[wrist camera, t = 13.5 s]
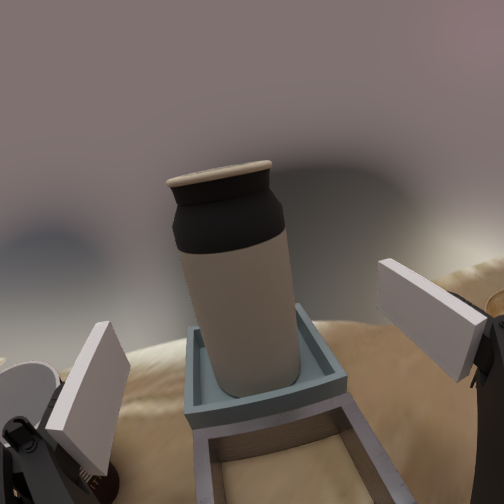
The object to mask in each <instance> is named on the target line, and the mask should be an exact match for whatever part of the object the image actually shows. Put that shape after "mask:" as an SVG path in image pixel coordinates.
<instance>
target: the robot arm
mask: <svg viewBox="0 0 504 504" xmlns="http://www.w3.org/2000/svg"><path fill="white" fill-rule="evenodd" d="M377 309H378V310H379V311H380V312H381V313H382V314H383V315H384V316H385V317H387V318H388V319H389V320H390V321H391V322H392V323H393V324H394V325H395V326H397V327H398V328H399V329H400V330H401V331H402V332H403V333H404V334H405V335H406V336H407V337H409V338H410V339H411V340H412V341H413V342H414V343H415V344H416V345H417V346H418V347H419V348H420V349H421V350H423V351H424V352H425V353H426V354H427V355H428V356H429V357H430V358H431V359H432V360H433V361H434V362H435V363H436V364H437V365H438V366H439V367H440V368H441V369H443V370H444V371H445V372H446V373H447V374H448V375H449V376H450V377H451V378H452V379H453V380H454V381H455V382H456V383H458V382H459V381H461V380H462V379H463V378H465V377H466V376H468V375H469V373H470V370H471V368H472V365H473V363H474V364H475V365H476V366H477V367H478V368H477V370H476V373H475V375H474V378H473V380H472V382H471V386H470V388H473V385H474V383H475V382H476V388H477V408H478V433H477V453H476V465H475V475H474V482H473V489H472V495H471V501H470V504H504V315H498V316H497V317H495V318H494V317H492V316H491V315H489V314H488V313H486V312H484V311H483V310H481V309H480V308H478V307H477V306H475V305H474V304H473V305H472V303H470V302H469V301H467V300H465V299H464V298H463V297H461V296H459V295H458V294H455V293H452V292H449V291H445V290H443V289H442V288H440V287H439V286H437V285H435V284H434V283H432V282H430V281H429V280H427V279H425V278H423V277H422V276H420V275H419V274H417V273H415V272H414V271H412V270H410V269H408V268H407V267H405V266H403V265H402V264H400V263H398V262H396V261H395V260H393V259H391V258H389V259H385V260H382V261H379V262H378V300H377ZM130 367H131V366H130V364H129V362H128V360H127V358H126V355H125V353H124V351H123V349H122V347H121V345H120V343H119V340H118V338H117V336H116V334H115V331H114V329H113V327H112V324H111V322H110V321H105V322H99V323H96V324H95V326H94V328H93V330H92V332H91V334H90V335H89V337H88V339H87V341H86V343H85V345H84V346H83V349H82V350H81V352H80V354H79V356H78V358H77V360H76V362H75V364H74V366H73V368H72V370H71V372H70V374H69V376H68V378H67V380H66V382H62V383H61V384H60V385H59V386H58V387H57V388H56V389H55V390H54V393H53V395H52V397H51V399H50V400H51V401H49V403H48V405H47V408H46V410H45V412H44V414H43V416H42V419H41V421H40V423H39V426H38V428H37V430H36V429H35V428H34V426H33V425H32V424H31V423H30V422H29V420H28V419H27V418H26V417H24V416H16V417H14V418H12V419H10V420H9V421H8V422H7V423H6V424H5V426H4V428H3V430H2V437H3V438H4V439H5V440H6V441H7V442H8V444H9V445H10V446H11V448H6V447H5V446H4V445H3V444H2V443H1V442H0V504H100V502H99V501H98V499H97V498H96V497H95V495H94V494H93V492H92V490H91V489H90V487H89V486H88V484H87V483H86V481H85V479H84V478H83V477H82V476H81V475H80V474H79V472H80V468H81V467H82V468H83V469H84V470H85V471H86V472H87V473H88V474H89V475H99V476H107V471H108V465H109V460H110V454H111V449H112V444H113V439H114V434H115V429H116V424H117V420H118V415H119V411H120V406H121V402H122V398H123V394H124V390H125V386H126V382H127V378H128V374H129V371H130ZM13 489H14V490H16V491H17V497H16V496H15V495H14V491H13Z"/></svg>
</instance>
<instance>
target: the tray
mask: <svg viewBox="0 0 504 504" xmlns="http://www.w3.org/2000/svg"><path fill="white" fill-rule="evenodd" d="M295 310H296V320H297V329H298V339H299V349H300V360H301V369H300V373H299V375H298V377H297V378H296V380H295V381H294V382H293V383H292V384H291V385H290V386H289V387H286V388H282V389H278V390H274V391H270V392H266V393H262V394H257V395H253V396H248V397H243V398H239V397H235V396H232V395H230V394H228V393H227V392H225V391H224V390H223V389H222V388H221V387H220V386H219V385H218V383H217V380H216V378H215V375H214V372H213V369H212V366H211V363H210V360H209V357H208V354H207V351H206V347H205V344H204V341H203V338H202V335H201V332H200V328H199V325H198V326H193V327H188V329H187V345H186V367H185V397H184V415H185V417H186V419H187V420H188V422H189V424H190V426H191V428H192V430H195V429H202V428H209V427H216V426H222V425H228V424H233V423H239V422H244V421H249V420H253V419H258V418H262V417H267V416H271V415H275V414H279V413H283V412H287V411H290V410H294V409H298V408H301V407H305V406H308V405H311V404H315V403H318V402H321V401H324V400H327V399H330V398H333V397H336V396H339V395H342V394H345V393H346V391H347V376H348V375H347V374H346V372H345V371H344V369H343V368H342V366H341V365H340V363H339V362H338V360H337V359H336V357H335V356H334V354H333V353H332V351H331V350H330V348H329V347H328V345H327V344H326V342H325V341H324V339H323V338H322V336H321V335H320V333H319V332H318V330H317V329H316V327H315V326H314V324H313V323H312V321H311V320H310V318H309V317H308V315H307V314H306V312H305V311H304V309H303V308H302V306H301V305H300V304H299V303H298V304H295Z"/></svg>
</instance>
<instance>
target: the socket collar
mask: <svg viewBox="0 0 504 504" xmlns="http://www.w3.org/2000/svg"><path fill="white" fill-rule="evenodd" d="M337 433H339V434H340V436H341V438H342V440H343V442H344V444H345V446H346V448H347V450H348V452H349V454H350V456H351V458H352V460H353V462H354V464H355V466H356V468H357V470H358V471H359V473H360V475H361V477H362V479H363V481H364V483H365V485H366V487H367V489H368V491H369V493H370V495H371V497H372V499H373V501H374V503H375V504H417V502H416V501H415V499H414V497H413V496H412V494H411V492H410V491H409V489H408V487H407V486H406V484H405V483H404V481H403V479H402V478H401V476H400V474H399V473H398V471H397V469H396V468H395V466H394V464H393V463H392V461H391V460H390V458H389V456H388V455H387V453H386V451H385V450H384V448H383V447H382V445H381V443H380V442H379V440H378V438H377V437H376V435H375V434H374V432H373V430H372V429H371V427H370V425H369V424H368V422H367V421H366V419H365V417H364V416H363V414H362V412H361V411H360V409H359V408H358V406H357V404H356V403H355V401H354V400H353V398H352V396H351V395H350V393H349V392H347V393H345V394H342V395H339V396H336V397H333V398H330V399H327V400H324V401H321V402H318V403H315V404H311V405H308V406H305V407H301V408H298V409H294V410H290V411H287V412H283V413H279V414H275V415H271V416H267V417H262V418H258V419H253V420H249V421H244V422H239V423H233V424H228V425H222V426H216V427H209V428H202V429H195V430H193V448H194V470H195V487H196V501H197V504H226V498H225V491H224V484H223V476H222V469H221V462H226V461H232V460H238V459H244V458H249V457H254V456H259V455H264V454H268V453H272V452H277V451H281V450H285V449H288V448H292V447H296V446H299V445H303V444H306V443H310V442H313V441H316V440H319V439H322V438H325V437H328V436H331V435H334V434H337Z"/></svg>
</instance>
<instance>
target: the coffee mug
mask: <svg viewBox="0 0 504 504" xmlns="http://www.w3.org/2000/svg"><path fill="white" fill-rule="evenodd" d="M61 383H62V381H61V379H60V377H59V375H58V372H57V371H56V369H55V368H54V367H53V366H52V365H50V364H48V363H46V362H42V361H28V362H23V363H19V364H16V365H13V366H11V367H9V368H7V369H5V370H3V371H1V372H0V442H1V443H2V444H3V445H4V446H5V447H6V448H11V446H10V445H9V444H8V442H7V441H6V440H5V439H4V438H3V437H2V430H3V428H4V426H5V424H6V423H7V422H8V421H9V420H10V419H12V418H14V417H16V416H24V417H26V418H27V419H28V420H29V422H30V423H31V424H32V425H33V426H34V428H35V429H36V430H37V428H38V426H39V423H40V421H41V419H42V416H43V414H44V412H45V410H46V408H47V405H48V403H49V401H51V400H50V399H51V397H52V395H53V393H54V390H55V389H56V388H57V387H58V386H59V385H60V384H61ZM79 474H80V475H81V476H82V477H83V478H84V479H85V481H86V483H87V484H88V486H89V487H90V489H91V490H92V492H93V494H94V495H95V497H96V498H97V499H98V501H99V502H100V504H111V503H112V502H113V501H114V499H115V498H116V496H117V493H118V490H119V477H118V473H117V471H116V469H115V468H114V466H113V465H112V464H111V462H110V461H109V465H108V471H107V476H99V475H89V474H88V473H87V472H86V471H85V470H84V469H83V468H82V467H81V468H80V472H79Z"/></svg>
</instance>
